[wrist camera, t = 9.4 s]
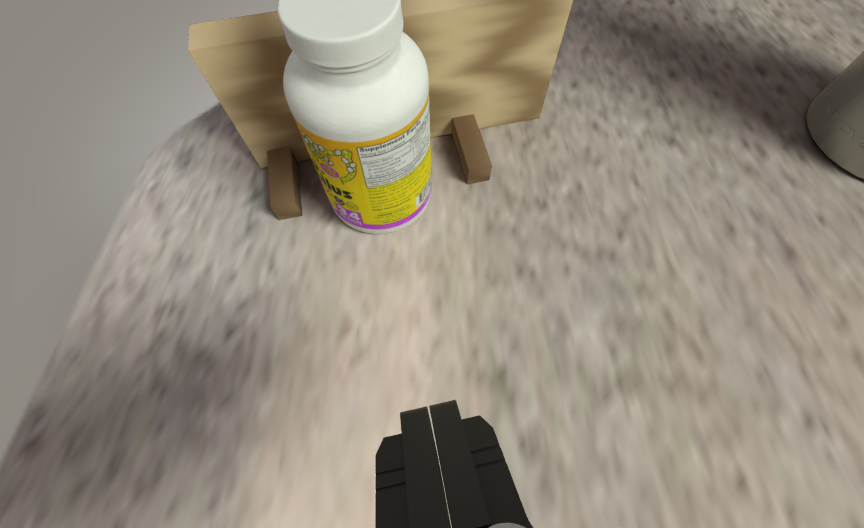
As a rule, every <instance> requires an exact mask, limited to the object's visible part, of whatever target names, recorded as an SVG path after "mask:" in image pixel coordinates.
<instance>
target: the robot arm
mask: <svg viewBox="0 0 864 528" xmlns="http://www.w3.org/2000/svg"><path fill="white" fill-rule="evenodd" d="M806 116H807V126H808V128H809V131H810V134H811V136H812V138H813V139H814V141H815V142H816V144H817V145H818V147H819V148H820V149H821V150H822V151H823V152H824V153H825V154H826V155H827V156H828V157H829V158H830V159H831V160H833V161H834V162H835V163H837V164H838V165H839V166H840V167H842V168H843V169H845V170H847V171H849V172H850V173H852V174H854V175H855V176H857V177H860V178H862V179H864V51H863V52H862V53H861V54H860V55H859V56H858V57H857V58H856V59H855V60H854V61H853V62H852V63H851V64H850V65H849V66H848V67H847V68H846V69H845V70H844V71H843V72H842V73H841V74H839V75H838V76H837V77H836V78H835V79H834V80H833V81H832V82H831V83H830V84H829V85H828V86H827V87H826V88H825V89H824V90H823V91H822V92H821V93H820V94H819V95H818V96H817V97H816V98H815V99H814V100H813V101H812V103H811V104H810V105H809V107H808V111H807V115H806ZM429 407H430V413H431V418H432V423H433V429H434V434H435V439H436V445H437V450H438V455H439V460H438V455H437V451H436V446H435V441H434V437H433V432H432V427H431V422H430V418H429V413H428V409H427V407H422V408H418V409H414V410H409V411H405V412H401V413H400V418H401V430H402V434H398V435H393V436H389V437H385V438H383V441H382V443H381V445H380V447H379V449H378V451H377V454H376V528H451V525H452V528H533V527H532V525H531V524H530V522H529V520H528V518H527V516H526V513H525V511H524V508H523V506H522V503H521V500H520V498H519V495H518V492H517V490H516V487H515V485H514V482H513V479H512V477H511V474H510V471H509V469H508V466H507V464H506V462H505V458H504V456H503V453H502V450H501V448H500V446H499V443H498V440H497V437H496V435H495V432H494V429H493V427H492V426H490V425H489V424H488V423H487V422H486V421H485V420H484V419H483V418H482V417H481V416H480V415H479V416H475V417H471V418H466V419H462V420H461V416H460V413H459V409H458V406H457V402H456V400H453V401H448V402H444V403H439V404H435V405H431V406H429ZM439 461H440V465H439ZM440 466H441V471H442V476H441V471H440ZM442 477H443V481H442ZM443 482H444V487H445V492H444V487H443ZM445 493H446V498H447V503H446V498H445ZM447 504H448V508H447ZM448 509H449V514H450V519H449V514H448ZM450 520H451V525H450Z"/></svg>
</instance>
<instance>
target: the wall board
mask: <svg viewBox="0 0 864 528" xmlns="http://www.w3.org/2000/svg"><path fill="white" fill-rule="evenodd" d="M572 3H573V0H401V8H402V15H403V22H404V24H403V31H402V32H404V33H405V34H407V35H408V36H409V37H410V38H411V39H412V40H413V41H414V42H415V43H416V45H417V46H418V47H419V49H420V51H421V52H422V54H423V56H424V58H425V61H426V65H427V69H428V76H429V113H430V138H431V137H436V136H442V135H447V134H452V136H453V139H454V142H455V146H456V149H457V152H458V155H459V158H460V162H461V165H462V168H463V171H464V174H465V178H466V181H467V184H471V183H476V182H481V181H487V180H489V179H490V173H491V167H492V165H491V162H490V159H489V156H488V153H487V150H486V148H485V145H484V142H483V139H482V136H481V133H480V130H479V129H481V128H486V127H492V126H497V125H503V124H508V123H514V122H519V121H525V120H531V119H536V118H539V117H540V113H541V110H542V107H543V103H544V100H545V96H546V93H547V89H548V86H549V82H550V79H551V75H552V72H553V69H554V65H555V62H556V58H557V55H558V51H559V48H560V44H561V41H562V37H563V34H564V31H565V27H566V24H567V20H568V17H569V13H570V10H571V6H572ZM188 51H189V53H190V54H191V56H192V58H193V59H194V61H195V63H196V64H197V66H198V68H199V69H200V71H201V72H202V74H203V75H204V77H205V79H206V80H207V82H208V83H209V85H210V87H211V88H212V90H213V91H214V93H215V95H216V97H217V98H218V100H219V101H220V103H221V105H222V106H223V108H224V109H225V111H226V113H227V114H228V116H229V118H230V119H231V121H232V122H233V124H234V126H235V127H236V129H237V130H238V132H239V134H240V135H241V137H242V138H243V140H244V142H245V143H246V145H247V147H248V148H249V150H250V151H251V153H252V155H253V156H254V158H255V159H256V161H257V163H258V164H259V166H260V168H264V167H268V176H269V194H270V208H271V209H272V210H273V212H274V213H275V215H276V216H277V218H278V219H279V220H282V219H287V218H292V217H297V216H302V207H301V196H300V186H299V175H298V164H297V162H298V161H303V160H309V159H311V157H310V155H309V153H308V150H307V148H306V145H305V143H304V140H303V138H302V136H301V133H300V131H299V129H298V126H297V124H296V122H295V119H294V117H293V115H292V113H291V111H290V108H289V105H288V103H287V100H286V97H285V93H284V88H283V76H284V70H285V66H286V63H287V61H288V58H289V56H290V54H291V53H292V49H291V48H290V46H289V45H288V43H287V40H286V36H285V33H284V30H283V28H282V25H281V22H280V19H279V15H278V11H275V12H268V13H262V14H256V15H249V16H243V17H236V18H229V19H223V20H216V21H209V22H203V23H196V24H190V25H189V41H188Z"/></svg>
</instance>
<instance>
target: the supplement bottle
mask: <svg viewBox="0 0 864 528" xmlns="http://www.w3.org/2000/svg"><path fill="white" fill-rule="evenodd" d="M278 15H279V19H280V22H281V25H282V28H283V30H284V33H285V36H286V40H287V43H288V45H289V46H290V48H291V49H292V53H291V54H290V56H289V58H288V61H287V63H286V66H285V70H284V76H283V88H284V93H285V97H286V100H287V103H288V105H289V108H290V111H291V113H292V115H293V117H294V119H295V122H296V124H297V126H298V129H299V131H300V133H301V136H302V138H303V140H304V143H305V145H306V148H307V150H308V153H309V155H310V157H311V159H312V162H313V164H314V166H315V169H316V171H317V173H318V176H319V178H320V180H321V183H322V185H323V187H324V190H325V192H326V194H327V196H328V199H329V201H330V203H331V205H332V207H333V209H334V211H335V213H336V214H337V215H338V216H339V218H340V219H341V220H342V221H343V222H345V223H346V224H347V225H349V226H350V227H352V228H354V229H356V230H358V231H361V232H365V233H370V234H386V233H392V232H396V231H399V230H401V229H403V228H405V227H407V226H408V225H410V224H411V223H413V222H414V221H415V220H417V219H418V218H419V217H420V215H421V214H422V213H423V212H424V210H425V209H426V207H427V205H428V203H429V200H430V196H431V188H432V172H431V145H430V113H429V76H428V69H427V65H426V61H425V58H424V56H423V54H422V52H421V51H420V49H419V47H418V46H417V45H416V43H415V42H414V41H413V40H412V39H411V38H410V37H409V36H408V35H407V34H405V33H404V32H402V31H403V24H404V22H403V15H402V8H401V0H279V2H278Z"/></svg>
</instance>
